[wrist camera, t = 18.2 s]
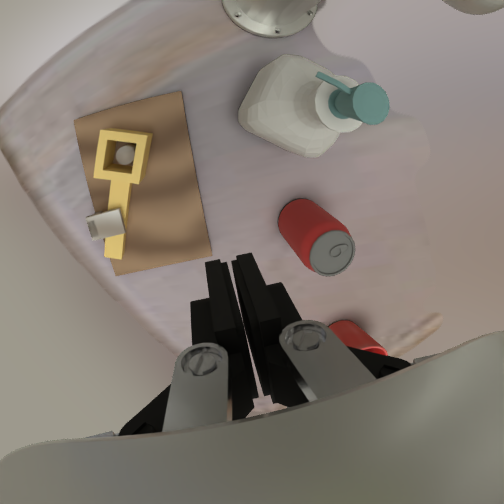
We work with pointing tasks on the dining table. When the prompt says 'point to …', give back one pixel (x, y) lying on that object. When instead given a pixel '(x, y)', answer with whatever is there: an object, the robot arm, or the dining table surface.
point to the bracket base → (148, 186)
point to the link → (120, 176)
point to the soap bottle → (308, 105)
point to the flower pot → (356, 337)
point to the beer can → (316, 237)
